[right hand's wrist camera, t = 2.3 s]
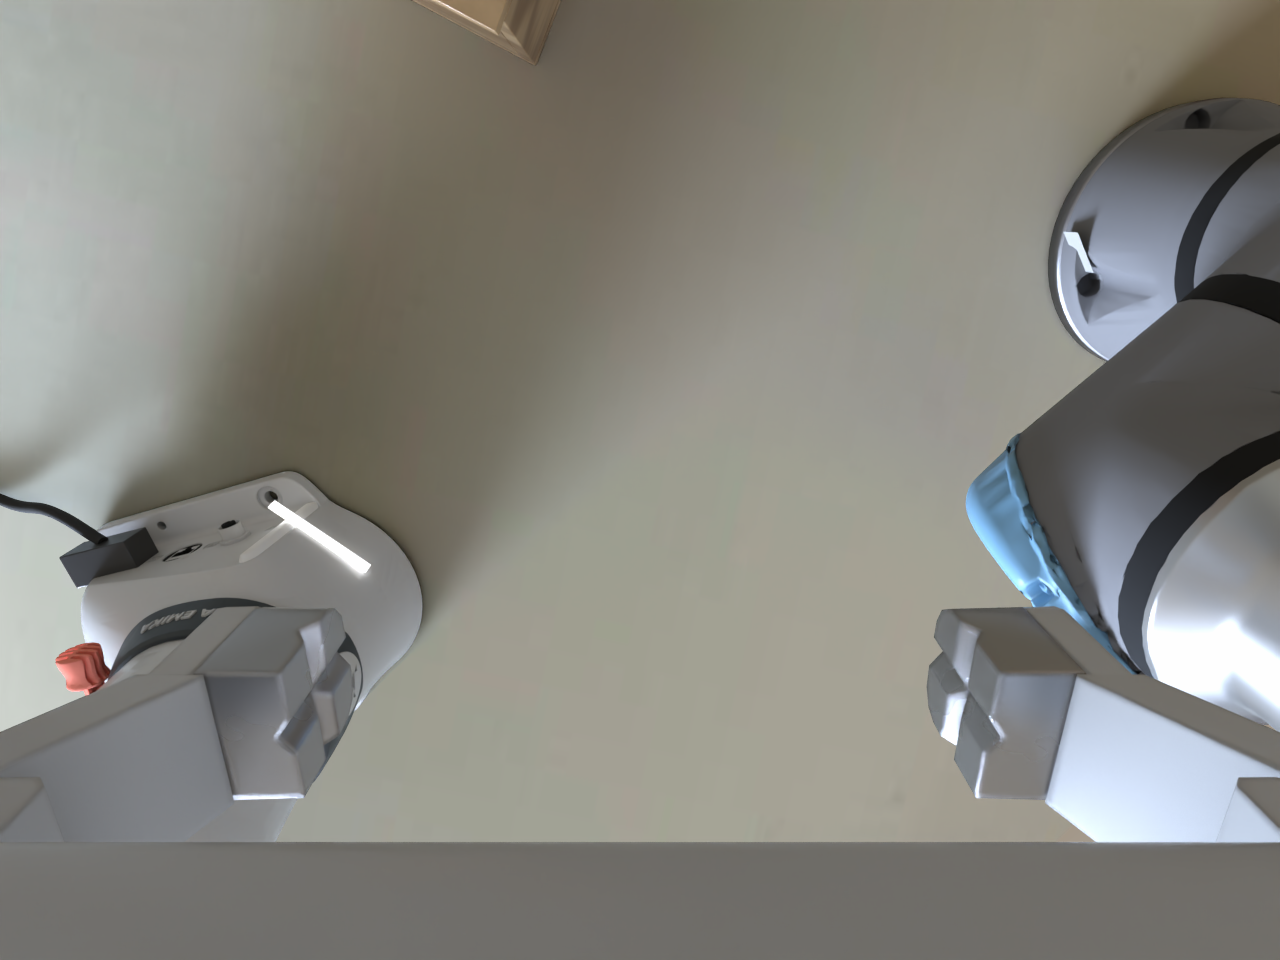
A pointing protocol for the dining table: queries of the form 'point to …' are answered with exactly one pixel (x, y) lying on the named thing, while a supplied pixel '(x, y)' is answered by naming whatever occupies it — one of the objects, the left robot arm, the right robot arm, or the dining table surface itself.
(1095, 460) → the left robot arm
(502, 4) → the lid
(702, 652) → the dining table surface
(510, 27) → the chest
